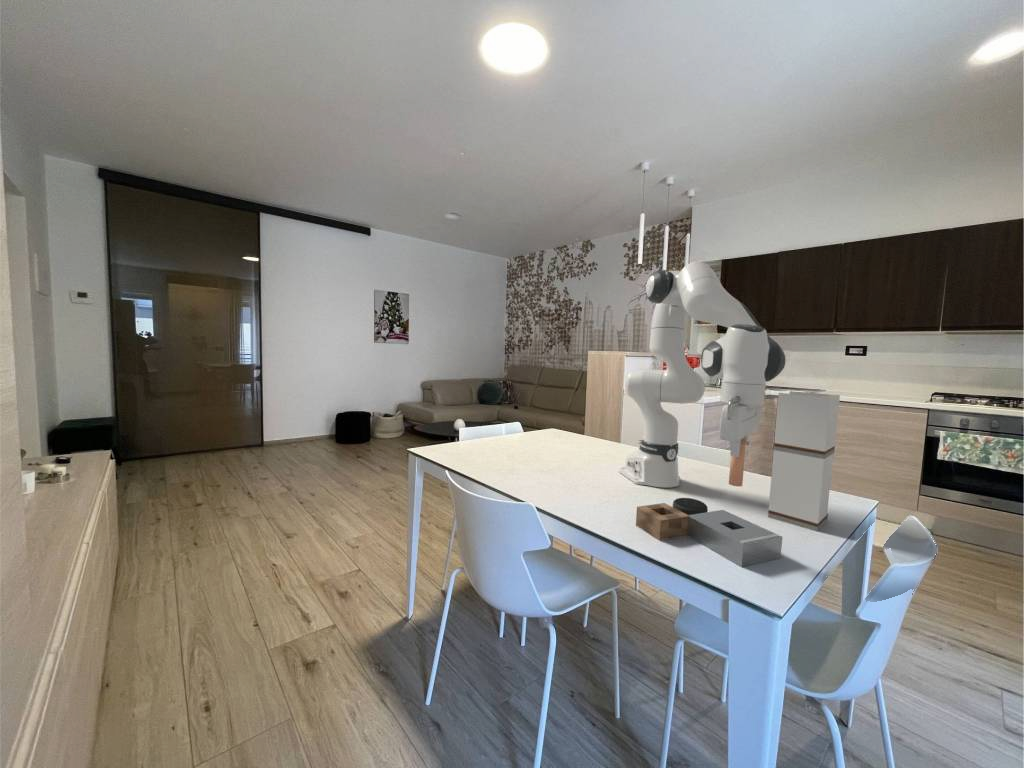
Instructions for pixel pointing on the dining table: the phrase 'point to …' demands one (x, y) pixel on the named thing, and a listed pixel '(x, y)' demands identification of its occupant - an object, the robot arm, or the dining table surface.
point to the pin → (737, 466)
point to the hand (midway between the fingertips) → (737, 454)
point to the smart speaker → (690, 506)
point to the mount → (662, 521)
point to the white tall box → (803, 458)
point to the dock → (734, 537)
